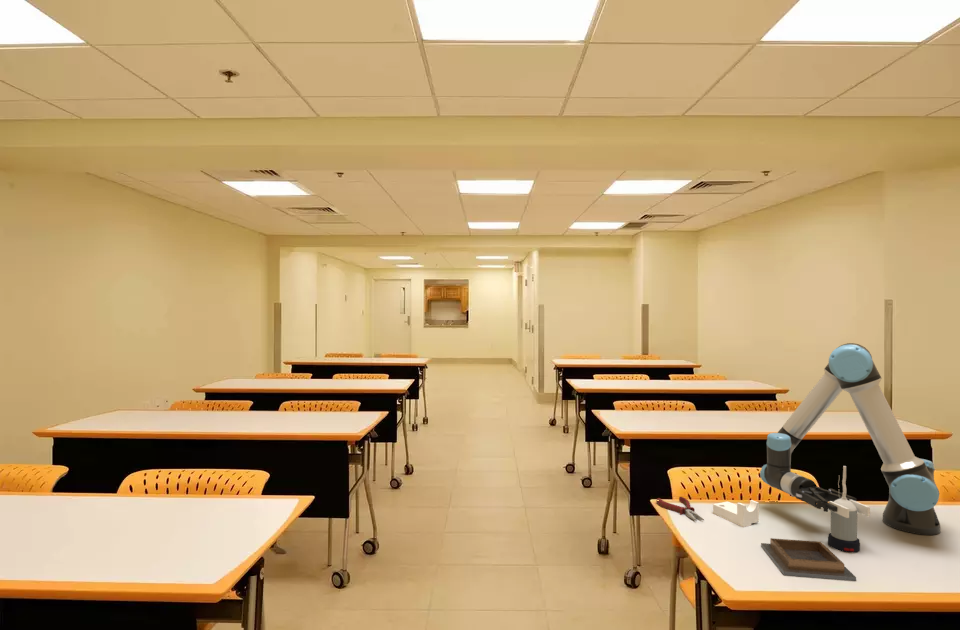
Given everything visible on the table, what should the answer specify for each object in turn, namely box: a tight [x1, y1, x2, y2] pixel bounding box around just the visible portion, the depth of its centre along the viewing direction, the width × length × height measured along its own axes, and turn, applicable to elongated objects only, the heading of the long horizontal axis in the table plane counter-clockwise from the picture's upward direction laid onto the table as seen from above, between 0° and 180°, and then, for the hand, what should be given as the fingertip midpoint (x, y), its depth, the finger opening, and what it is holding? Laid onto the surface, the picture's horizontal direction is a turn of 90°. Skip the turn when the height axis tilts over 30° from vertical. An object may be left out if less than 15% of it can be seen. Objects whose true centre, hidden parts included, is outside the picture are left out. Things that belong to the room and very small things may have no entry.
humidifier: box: [827, 465, 861, 554], centre depth 163 cm, size 8×8×25 cm
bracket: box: [712, 499, 760, 528], centre depth 185 cm, size 13×7×8 cm, turn 22°
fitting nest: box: [760, 537, 857, 582], centre depth 153 cm, size 18×18×4 cm
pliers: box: [656, 496, 705, 522], centre depth 191 cm, size 12×20×3 cm, turn 11°
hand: (858, 512), depth 158 cm, fingers closed on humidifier, 7 cm apart
